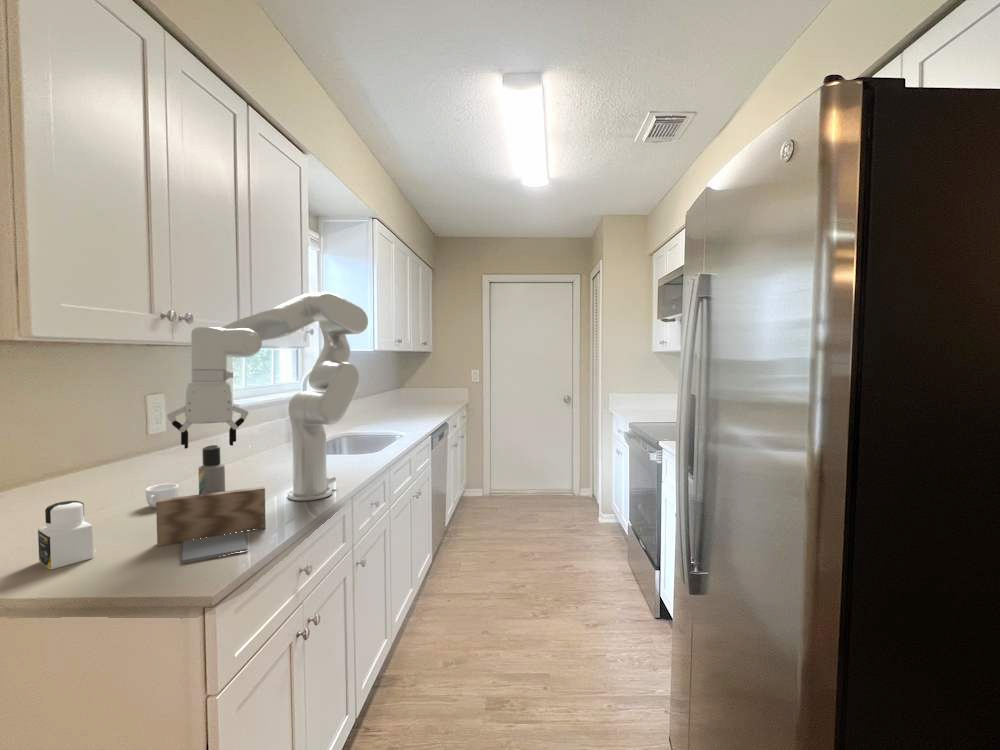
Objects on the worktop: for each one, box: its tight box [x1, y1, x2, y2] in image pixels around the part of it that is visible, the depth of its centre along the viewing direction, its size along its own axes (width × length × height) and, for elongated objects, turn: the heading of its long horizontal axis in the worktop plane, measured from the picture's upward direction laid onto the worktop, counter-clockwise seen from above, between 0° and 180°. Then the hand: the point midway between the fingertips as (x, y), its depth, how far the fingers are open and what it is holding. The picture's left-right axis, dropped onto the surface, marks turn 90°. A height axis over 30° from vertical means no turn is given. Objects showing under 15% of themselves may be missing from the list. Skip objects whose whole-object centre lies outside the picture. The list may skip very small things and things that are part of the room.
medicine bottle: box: [37, 500, 95, 571], centre depth 103 cm, size 7×7×12 cm
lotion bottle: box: [198, 444, 226, 495], centre depth 124 cm, size 6×6×20 cm
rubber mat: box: [181, 532, 249, 565], centre depth 110 cm, size 12×12×1 cm
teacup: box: [145, 483, 180, 509], centre depth 139 cm, size 10×8×5 cm
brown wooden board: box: [155, 486, 266, 547], centre depth 117 cm, size 22×2×10 cm, turn 121°
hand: (209, 446), depth 123 cm, fingers open, 9 cm apart
